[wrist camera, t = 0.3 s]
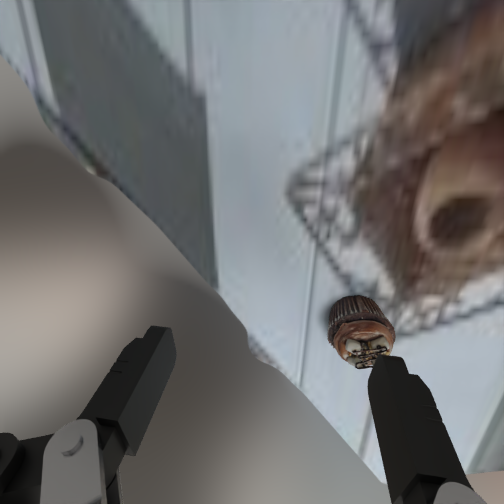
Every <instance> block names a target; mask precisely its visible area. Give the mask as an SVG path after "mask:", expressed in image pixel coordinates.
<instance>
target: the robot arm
mask: <svg viewBox="0 0 504 504" xmlns="http://www.w3.org/2000/svg"><path fill="white" fill-rule="evenodd" d="M175 361H176V348H175V343H174V339H173V334H172V330H171V328H168V327H159V326H151V327H150V328H149V329H148V330H147V332H146V334H145V335H144V337H143V338H135V339H134V340H133V341H132V342H131V343H129V344H128V345H127V346H126V347H125V348H124V349H123V351H122V352H121V354H120V355H119V357H118V358H117V361H116V362H115V363H114V365H113V366H112V368H111V369H110V372H109V373H108V374H107V375H106V377H105V378H104V380H103V381H102V383H101V385H100V386H99V388H98V389H97V391H96V392H95V394H94V395H93V397H92V398H91V400H90V401H89V403H88V404H87V406H86V408H85V409H84V411H83V412H82V413H81V415H80V416H79V417H78V418H77V419H76V420H75V421H72V422H70V423H68V424H66V425H65V426H63V427H62V428H60V429H59V430H58V431H57V432H56V433H54V434H50V435H46V436H41V437H36V438H31V439H26V440H20V441H19V440H18V439H17V438H16V437H15V436H14V435H13V434H11V433H0V504H123V496H122V488H121V480H120V472H119V465H120V463H121V461H122V459H123V457H124V455H125V454H126V455H131V456H135V455H136V453H137V451H138V448H139V446H140V444H141V441H142V439H143V437H144V434H145V432H146V430H147V427H148V425H149V423H150V420H151V418H152V416H153V414H154V411H155V409H156V407H157V405H158V402H159V400H160V398H161V395H162V393H163V391H164V388H165V386H166V384H167V382H168V379H169V377H170V375H171V372H172V370H173V368H174V365H175ZM368 395H369V400H370V405H371V410H372V414H373V419H374V424H375V428H376V433H377V438H378V442H379V447H380V452H381V456H382V461H383V466H384V470H385V475H386V479H387V484H388V489H389V493H390V498H391V503H392V504H487V503H486V502H485V501H484V500H483V499H482V498H481V497H480V496H479V495H478V494H477V493H476V492H475V491H474V490H473V488H472V487H471V485H470V484H469V482H468V480H467V478H466V475H465V473H464V471H463V468H462V466H461V463H460V461H459V459H458V456H457V454H456V451H455V449H454V447H453V444H452V442H451V439H450V437H449V435H448V432H447V430H446V427H445V425H444V423H443V422H442V418H441V415H440V413H439V410H438V409H437V406H436V403H435V401H434V398H433V396H432V394H431V391H430V389H429V388H428V387H427V386H426V384H425V383H424V382H423V381H422V379H421V378H420V377H419V376H418V375H414V374H409V373H408V370H407V367H406V364H405V362H404V360H403V359H402V358H401V357H397V356H388V355H380V354H379V355H378V356H377V358H376V361H375V364H374V366H373V369H372V371H371V374H370V376H369V379H368Z"/></svg>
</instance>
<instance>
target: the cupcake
mask: <svg viewBox="0 0 504 504" xmlns="http://www.w3.org/2000/svg"><path fill="white" fill-rule="evenodd" d="M328 341H329V343H331V346H333V348H335V349H336V350H337V352H338V354H339V355H340V356H341V358H342V359H344V360H345V361H347V362H348V363H349V364H351V365H353V366H355V367H356V368H357V369H366V368H371V367H372V368H373V366H374V364H375V361H376V358H377V356H378V355H379V354H380V355H388V356H389V355H390V353H391V351H392V348H393V343H394V342H395V331H394V327H393V326H392V324H391V323H390V322H389V320H388V319H387V318H386V317H385V316H384V314H383V313H382V311H381V310H380V308H379V307H378V305H377V304H376V303H375V302H374V301H373V300H372V299H370V298H367V297H364V296H360V295H357V296H348V297H344V298H342V299H340V300H339V301H337V302H336V303H335V304H334V305H333V307H332V309H331V313H330V318H329V326H328ZM369 365H373V366H369Z"/></svg>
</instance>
